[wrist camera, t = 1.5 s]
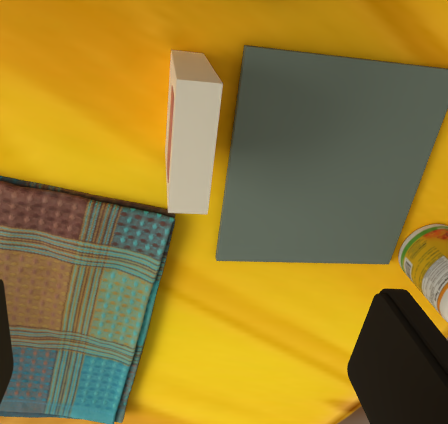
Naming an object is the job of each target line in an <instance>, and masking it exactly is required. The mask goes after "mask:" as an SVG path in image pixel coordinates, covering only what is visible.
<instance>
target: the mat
mask: <svg viewBox="0 0 448 424" xmlns="http://www.w3.org/2000/svg"><path fill="white" fill-rule="evenodd" d="M447 109H448V69H445V68H436V67H428V66H419V65H410V64H402V63H393V62H385V61H376V60H367V59H359V58H350V57H342V56H333V55H324V54H316V53H307V52H299V51H290V50H281V49H273V48H264V47H255V46H247V45H244V51H243V59H242V66H241V73H240V81H239V88H238V95H237V103H236V110H235V117H234V125H233V132H232V140H231V147H230V154H229V162H228V169H227V176H226V184H225V191H224V199H223V206H222V213H221V221H220V228H219V235H218V243H217V250H216V260H217V261H254V262H304V263H353V264H389V262H390V260H391V257H392V254H393V252H394V249H395V247H396V244H397V241H398V239H399V236H400V233H401V231H402V228H403V225H404V223H405V220H406V217H407V215H408V212H409V209H410V207H411V204H412V201H413V199H414V196H415V194H416V191H417V188H418V186H419V183H420V180H421V178H422V175H423V172H424V170H425V167H426V164H427V162H428V159H429V156H430V154H431V151H432V148H433V146H434V143H435V141H436V138H437V135H438V133H439V130H440V127H441V125H442V122H443V119H444V117H445V114H446V111H447Z"/></svg>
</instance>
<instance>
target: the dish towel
mask: <svg viewBox="0 0 448 424" xmlns="http://www.w3.org/2000/svg"><path fill="white" fill-rule="evenodd" d="M174 218H175V214H174V213H168V210H167V209H163V208H159V207H154V206H149V205H143V204H139V203H134V202H129V201H124V200H118V199H112V198H107V197H102V196H96V195H91V194H88V193H83V192H78V191H74V190H68V189H63V188H59V187H55V186H50V185H45V184H40V183H34V182H29V181H23V180H18V179H13V178H8V177H3V176H0V279H1V280H3V283H4V289H5V297H6V305H7V313H8V321H9V329H10V337H11V345H12V353H13V360H14V366H13V373H12V377H11V379H10V382H9V384H8V387H7V389H6V392H5V394H4V397H3V399H2V402H1V404H0V416H4V417H59V418H72V419H85V420H90V421H95V422H100V423H106V424H114V422H119V423H122V422H123V419H124V414H125V408H126V405H127V401H128V397H129V394H130V391H131V388H132V384H133V381H134V378H135V374H136V371H137V367H138V364H139V360H140V357H141V354H142V350H143V347H144V343H145V339H146V335H147V332H148V327H149V323H150V319H151V314H152V311H153V306H154V302H155V298H156V294H157V290H158V286H159V282H160V279H161V276H162V273H163V269H164V266H165V262H166V257H167V253H168V249H169V245H170V241H171V236H172V231H173V228H174V224H175V219H174Z"/></svg>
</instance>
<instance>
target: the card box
mask: <svg viewBox="0 0 448 424" xmlns="http://www.w3.org/2000/svg"><path fill="white" fill-rule="evenodd" d="M222 88H223V83H222V82H221V80H220V78H219V77H218V75H217V74H216V72H215V71H214V69H213V68H212V66H211V64H210V63H209V61H208V60H207V58H206V57H205V55H204V54H203V53H196V52H187V51H178V50H171V61H170V78H169V95H168V113H167V130H166V147H165V154H166V177H167V201H168V213H188V214H208V207H209V198H210V190H211V181H212V173H213V164H214V156H215V147H216V139H217V130H218V122H219V113H220V105H221V96H222Z"/></svg>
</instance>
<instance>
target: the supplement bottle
mask: <svg viewBox="0 0 448 424" xmlns="http://www.w3.org/2000/svg"><path fill="white" fill-rule="evenodd" d="M399 264H400V266H401V268H402V269H403V271H404V272H405V273H406V275H407V276H408V277H409V278H410V279H411V281H412V282H413V283H414V284H415V285H416V286H417V288H418V289H419V290H420V291H421V292H422V293H423V295H424V296H425V297H426V298H427V299H428V300H429V302H430V303H431V304H432V305H433V306H434V308H435V309H436V310H437V311H438V312H439V313H440V315H441V316H442V317H443V318H444V319H445V320H446V321H447V322H448V226H446V225H443V224H432V225H427V226H424V227H422V228H420V229H418V230H416V231H414V232H413V233H412V234H411V235H410V236H409V237H408V238H407V239H406V240H405V241H404V243H403V244H402V246H401V248H400V251H399Z"/></svg>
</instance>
